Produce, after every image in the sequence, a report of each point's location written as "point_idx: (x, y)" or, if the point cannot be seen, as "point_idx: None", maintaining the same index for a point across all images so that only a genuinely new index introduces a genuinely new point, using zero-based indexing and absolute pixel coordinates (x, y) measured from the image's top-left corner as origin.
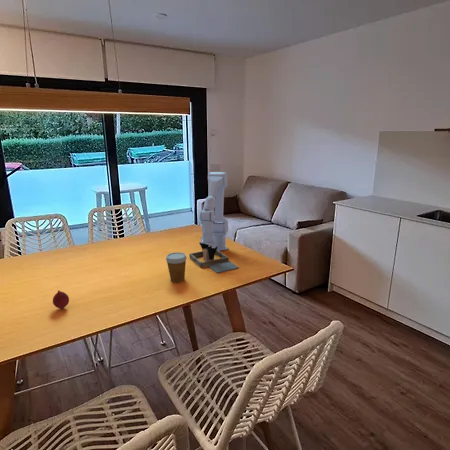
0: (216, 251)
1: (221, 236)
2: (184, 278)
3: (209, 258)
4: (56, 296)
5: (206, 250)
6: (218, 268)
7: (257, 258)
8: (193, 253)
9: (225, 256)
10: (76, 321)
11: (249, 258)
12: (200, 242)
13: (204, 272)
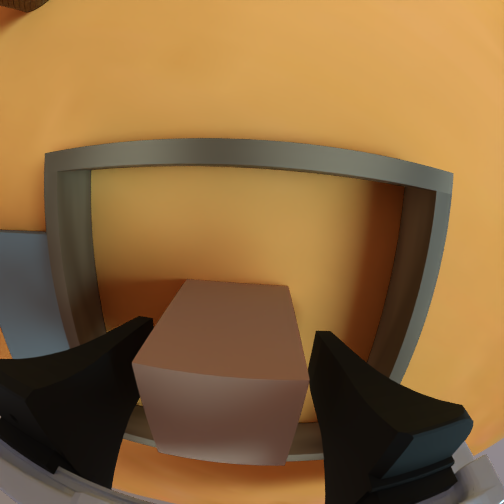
0: (312, 446)
1: None
2: (24, 10)
3: (139, 320)
4: None
5: (179, 389)
6: (9, 274)
7: (127, 482)
8: (432, 226)
9: (128, 434)
10: None
11: (137, 474)
12: (460, 439)
13: (12, 151)
